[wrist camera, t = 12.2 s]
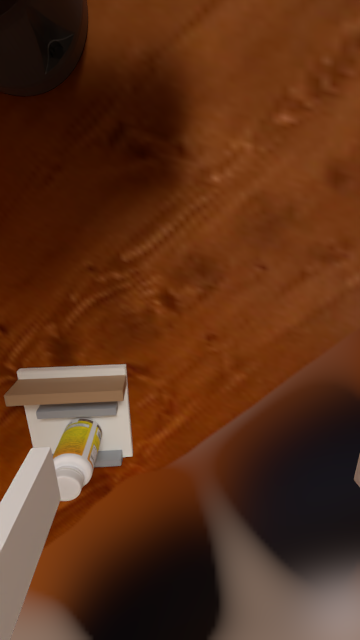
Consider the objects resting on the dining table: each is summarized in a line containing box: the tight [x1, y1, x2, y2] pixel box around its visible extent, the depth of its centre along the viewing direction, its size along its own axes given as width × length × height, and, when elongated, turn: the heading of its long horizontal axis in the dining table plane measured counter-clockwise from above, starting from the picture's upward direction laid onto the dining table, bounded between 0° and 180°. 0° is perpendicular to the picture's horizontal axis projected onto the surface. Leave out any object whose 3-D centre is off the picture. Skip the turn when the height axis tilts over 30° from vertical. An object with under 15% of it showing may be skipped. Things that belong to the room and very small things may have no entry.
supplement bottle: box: [53, 417, 102, 501], centre depth 39 cm, size 6×6×10 cm
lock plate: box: [4, 364, 133, 467], centre depth 42 cm, size 16×15×5 cm
